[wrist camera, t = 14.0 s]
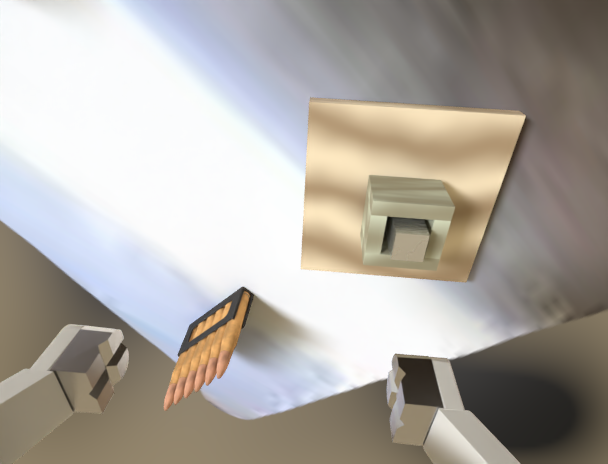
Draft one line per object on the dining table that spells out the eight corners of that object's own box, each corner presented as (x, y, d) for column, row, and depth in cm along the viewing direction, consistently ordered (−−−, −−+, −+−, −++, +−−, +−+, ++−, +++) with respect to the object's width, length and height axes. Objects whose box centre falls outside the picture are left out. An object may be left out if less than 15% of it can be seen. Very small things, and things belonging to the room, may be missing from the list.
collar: (369, 174, 34) (373, 200, 30) (440, 179, 34) (455, 207, 30) (360, 234, 38) (363, 264, 34) (425, 239, 38) (436, 270, 34)
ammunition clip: (243, 285, 46) (217, 369, 36) (254, 294, 47) (232, 379, 37) (189, 325, 51) (152, 409, 41) (200, 332, 51) (166, 417, 41)
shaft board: (310, 97, 34) (302, 129, 26) (518, 110, 33) (572, 147, 25) (301, 260, 43) (294, 318, 36) (462, 273, 43) (489, 335, 35)
